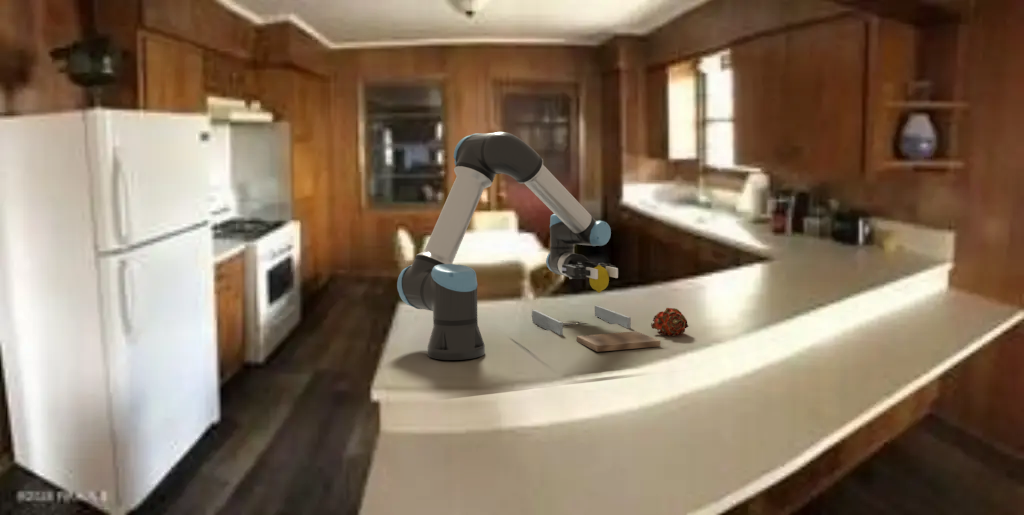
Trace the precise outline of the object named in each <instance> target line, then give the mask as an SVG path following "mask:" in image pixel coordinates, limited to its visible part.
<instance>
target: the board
mask: <svg viewBox="0 0 1024 515" xmlns="http://www.w3.org/2000/svg"><path fill="white" fill-rule="evenodd" d="M576 342H578V343H579V344H582V345H583V346H585V347H587V348H589V349H590V350H593V351H595V352H597V353H598V352H599V353H600V352H609V351H612V352H613V351H620V350H621V351H622V350H633V349H644V348H656V347H661V340H660V339H657V338H655V337H652V336H650V335H647V334H645V333H642V332H640V331H637V330H636V331H623V332H611V333H609V332H608V333H599V334H598V333H597V334H586V335H576Z"/></svg>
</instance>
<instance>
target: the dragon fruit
mask: <svg viewBox="0 0 1024 515" xmlns="http://www.w3.org/2000/svg"><path fill="white" fill-rule="evenodd" d="M652 319H653V320H652ZM652 319H651V320H652V321H653V322H650V326H651V329H655V330H657V331H659V333H660V335H661V336H666V335H668V336H669V337H675V336H678V335H682V334H684V333H685V332H686V329H688V327H689V324H688V320H687V318H686V317H685V315H684V314H683V313H682V312H681V311H680V310H679V309H678V308H674V307H666V308H665V310H664V311H663V310H662V311H659V312H658V313H657V314H655V315H654V316H653V318H652Z"/></svg>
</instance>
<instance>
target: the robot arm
mask: <svg viewBox="0 0 1024 515" xmlns="http://www.w3.org/2000/svg"><path fill="white" fill-rule="evenodd" d="M453 159H454V168H453V171H454V174H455V176H456V177H455V180H454V182H453V184H452V186H451V189H450V191H449V193H448V195H447V198H446V200H445V202H444V205H443V206H442V209H441V211H440V214H439V216H438V218H437V220H436V223H435V225H434V227H433V229H432V232H431V235H430V236H429V239H428V241H427V243H426V245H425V247H424V251H422V252H420V253H417V254H416V255H415V258H414V260H413V262H412V264H411V265H408V266H407V267H405V268H403V269H402V270H401V272H400V273H399V275H398V278H397V282H396V288H397V292H398V295H399V297H400V299H401V300H402V302H403V303H405V304H406V305H407V306H409V307H411V308H415V309H417V310H426V311H431V312H432V318H433V319H432V320H433V325H432V330H431V334H430V338H429V341H428V343H427V357H429V358H432V359H435V360H444V361H459V360H460V361H462V360H463V361H464V360H471V359H476V358H480V357H482V356H484V355H485V353H486V346H485V342H484V340H483V337H482V334H481V330H480V328H479V325H478V285H479V284H478V279H477V273H476V271H475V269H474V268H472V267H470V266H467V265H463V264H456V263H453V262H454V261H455V258H456V256H457V253H458V251H459V249H460V246H461V244H462V242H463V239H464V237H465V234H466V232H467V230H468V227H469V225H470V223H471V220H472V218H473V216H474V214H475V211H476V209H477V207H478V204H479V201H480V199H481V197H482V195H483V192H484V190H485V189H487V188H490V187H491V186H492V184H493V182H494V180H495V177H496V175H499V174H500V175H501V174H502V175H503V174H504V175H506V176H509V177H511V178H513V179H514V180H515V181H516V182H517V183H518V184H524V185H525V186H526V187H527V188H528V189H529V190H530V191H531V192H532V193H533V194H534V195H535V196H536V197H537V198H538V199H539V201H541V202H542V203H543V204H544V205H545V206H546V207H547V208H548V209H549V210H550V211H551V212H552V213H553V214H551V215H550V220H549V223H550V224H549V236H550V237H549V239H550V240H549V242H550V243H549V244H550V245H549V246H550V247H549V250H550V252H549V253H548V254H547V256H546V258H545V262H546V263H545V264H546V267H547V268H548V269H549V271H550V272H552V273H554V274H555V275H561V276H565V277H568V278H569V280H572V279H575V280H585V279H586V278H593V279H598V269H594V268H595V267H597V266H598V265H601V267H604V268H605V269H606V270H607V272H608V275H609V278H615V279H618V278H619V268H618V267H616V265H613V264H611V263H604V262H599V263H598V264H597V263H596V262H592V261H590V260H589V259H588V258H587V257H586V256H585V255H583V254H579V253H575V245H580V246H581V245H582V246H590V247H591V246H592V247H596V246H599V247H602V246H605V245H607V243H608V242H609V241H610V239H611V234H612V232H611V231H612V230H611V227H610V225H609V223H607V221H605V220H600V219H599V220H596V219H595V217H594V216H592V215H591V213H590V212H589V211H587V209H585V207H584V206H583V205H582V204H581V203H580V202H579V201H578V200H577V198H575V197H574V196H573V195H572V194H571V193H570V191H568V189H566V187H565V186H564V185H563V184H562V183H561V181H559V180H558V179H557V178H556V176H555V175H554V174H552V173H551V171H550V170H549V169H548V168H547V167H546V166H545V165H544V159H543V158H542V157H541V155H540V154H539V153H537V151H536V150H534V148H533V147H531V146H530V145H529V144H528V143H526V142H525V141H524V140H523V139H522V138H520V137H518V136H516V135H514V134H512V133H510V132H505V131H497V132H488V133H479V132H478V133H472V134H470V135H466V136H465V137H462V138H461V139H460V140H459V141H458V142H457V144H456V145H455V148H454V152H453Z"/></svg>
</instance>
